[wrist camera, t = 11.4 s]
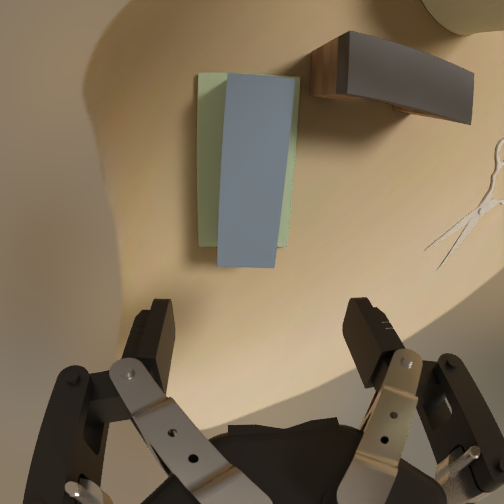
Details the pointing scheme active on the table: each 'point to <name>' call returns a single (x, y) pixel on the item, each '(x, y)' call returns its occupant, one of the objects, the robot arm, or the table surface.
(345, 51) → the block arch
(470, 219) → the scissors
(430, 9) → the can
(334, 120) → the table surface
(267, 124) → the blue slab
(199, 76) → the pad
